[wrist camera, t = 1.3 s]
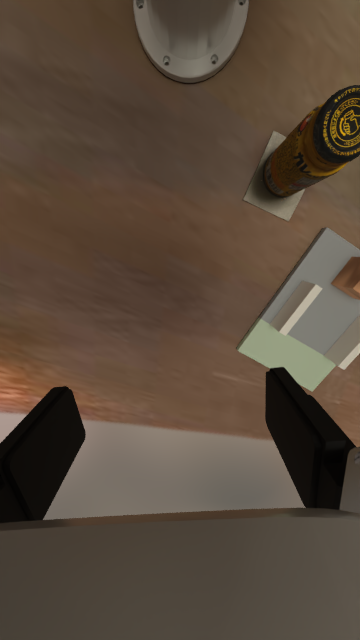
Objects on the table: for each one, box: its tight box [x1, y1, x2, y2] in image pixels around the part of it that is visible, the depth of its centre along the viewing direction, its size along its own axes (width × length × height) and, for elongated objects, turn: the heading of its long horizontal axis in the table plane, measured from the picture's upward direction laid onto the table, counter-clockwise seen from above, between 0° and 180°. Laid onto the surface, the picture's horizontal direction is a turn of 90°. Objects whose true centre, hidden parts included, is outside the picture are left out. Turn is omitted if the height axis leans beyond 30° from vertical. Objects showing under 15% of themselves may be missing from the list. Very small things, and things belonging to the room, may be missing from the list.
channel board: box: [237, 227, 360, 391], centre depth 33 cm, size 22×16×4 cm
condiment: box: [243, 85, 360, 221], centre depth 24 cm, size 7×8×12 cm
